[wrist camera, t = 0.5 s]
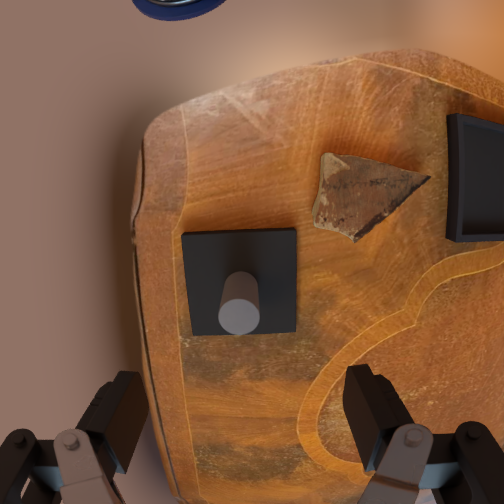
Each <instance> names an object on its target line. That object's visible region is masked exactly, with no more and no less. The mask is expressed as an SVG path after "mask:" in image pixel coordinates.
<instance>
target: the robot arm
mask: <svg viewBox="0 0 504 504" xmlns="http://www.w3.org/2000/svg"><path fill="white" fill-rule="evenodd" d="M147 1H148V2H150V3H151V4H154V5H156V6H160V7H167V8H174V7H183V6H187V5H191V4H194V3H197V2H199V1H201V0H147ZM343 408H344V412H345V415H346V418H347V420H348V423H349V426H350V429H351V432H352V435H353V437H354V440H355V443H356V446H357V449H358V452H359V455H360V458H361V461H362V464H363V466H364V469H365V472H367V471H371V470H375V471H376V472H375V474H374V476H372V478H371V480H370V481H369V483H368V485H367V487H366V489H365V490H364V492H363V494H362V496H361V497H360V499H359V501H358V502H357V504H415V501H416V499H417V496H418V493H419V490H420V489H431V490H432V493H433V495H434V498H435V500H436V503H437V504H504V453H503V451H502V449H501V448H500V446H499V445H498V443H497V442H496V440H495V439H494V437H493V436H492V434H491V432H490V431H489V430H488V428H487V427H486V426H485V425H483V424H482V423H479V422H475V421H468V422H465V423H462V424H461V425H460V426H458V428H457V429H456V432H455V433H450V434H432V432H431V431H430V430H429V429H428V428H427V427H425V426H423V425H420V424H415V423H414V421H413V419H412V417H411V416H410V414H409V412H408V411H407V409H406V407H405V405H404V404H403V402H402V400H401V399H399V395H398V394H397V392H395V389H394V387H393V385H392V384H391V382H390V381H389V380H388V379H386V378H385V377H384V376H382V375H381V374H379V375H374V374H373V373H372V371H371V369H370V367H369V366H368V364H361V365H354V366H348V367H347V371H346V378H345V385H344V391H343ZM148 411H149V404H148V399H147V396H146V393H145V389H144V386H143V382H142V379H141V376H140V374H139V372H132V371H119V372H118V374H117V376H116V377H115V379H114V381H113V382H107V383H106V384H105V385H103V386H102V387H101V388H100V389H99V390H98V392H97V393H96V395H95V398H94V399H93V400H92V402H91V403H90V405H89V407H88V408H87V410H86V411H85V413H84V414H83V416H82V418H81V419H80V421H79V423H78V425H77V426H76V428H75V429H69V430H65V431H63V432H61V433H60V434H58V435H57V437H56V438H55V440H37V439H36V437H35V435H34V434H33V432H31V431H30V430H28V429H17V430H14V431H13V432H11V433H10V434H9V435H8V436H7V437H6V439H5V441H4V442H3V443H2V445H1V447H0V504H60V502H61V500H63V503H64V504H126V503H125V501H124V499H123V497H122V495H121V494H120V491H119V489H118V487H117V485H116V483H115V481H114V480H113V477H114V474H115V472H117V473H122V474H126V472H127V469H128V467H129V464H130V461H131V458H132V456H133V453H134V450H135V448H136V444H137V442H138V439H139V437H140V434H141V431H142V429H143V426H144V424H145V421H146V418H147V415H148ZM28 477H29V479H30V482H29V484H28V486H27V489H26V491H25V493H24V495H23V497H22V499H21V496H20V495H21V491H22V489H23V487H24V484H25V483H26V481H27V479H28Z"/></svg>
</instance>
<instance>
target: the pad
mask: <svg viewBox="0 0 504 504" xmlns="http://www.w3.org/2000/svg"><path fill="white" fill-rule="evenodd" d="M181 240H182V250H183V260H184V269H185V278H186V287H187V295H188V303H189V311H190V318H191V325H192V332H193V335H194V336H198V335H247V334H271V333H289V332H296V277H297V253H296V229H295V228H267V229H243V230H221V231H201V232H184V233H183V234H182V235H181Z"/></svg>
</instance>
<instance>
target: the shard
mask: <svg viewBox="0 0 504 504" xmlns="http://www.w3.org/2000/svg"><path fill="white" fill-rule="evenodd" d="M430 178H431V176H428V175H426V174H421V173H418V172H414V171H408V170H405V169H401V168H398V167H395V166H393V165H390V164H387V163H382V162H378V161H376V160H373V159H368V158H362V157H357V156H352V155H339V154H335V153H324V154H323V155H322V156H321V165H320V184H319V190H318V194H317V197H316V200H315V202H314V206H313V209H312V214H313V225H314V226H315V227H317V228H321V229H328V230H332V231H336V232H340V233H342V234H344V235H346V236H348V237H349V238H350V239H351V240H352V241H353V242H354V243H356V242H357V241H358V240H359V239H360V238H362V237H363V236H364V235H365V234H367V233H369V232H370V231H371V230H372V229H373V228H374V227H375V225H377V224H379V223H381V222H382V221H383V220H384V219H385V218H386V217H387V216H389V215H390V214H392V213H393V212H394V211H395V210H396V209H397V208H398V207H400V206H401V205H402V204H403V203H404V202H405V201H406V200H407V199H408V198H409V197H410V196H411V195H412V194H413V192H414V191H415V190H417V188H419V187H420V186H421V185H423V184H425V183H426V182H427V181H428V180H429V179H430Z"/></svg>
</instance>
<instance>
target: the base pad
mask: <svg viewBox="0 0 504 504" xmlns="http://www.w3.org/2000/svg"><path fill="white" fill-rule="evenodd" d="M446 118H447V133H448V159H449V185H448V212H447V227H446V238H447V239H449V240H451V241H453V242H482V241H504V125H501V124H498V123H495V122H491V121H487V120H484V119H480V118H476V117H472V116H468V115H463V114H459V113H455V114H450V115H446Z"/></svg>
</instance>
